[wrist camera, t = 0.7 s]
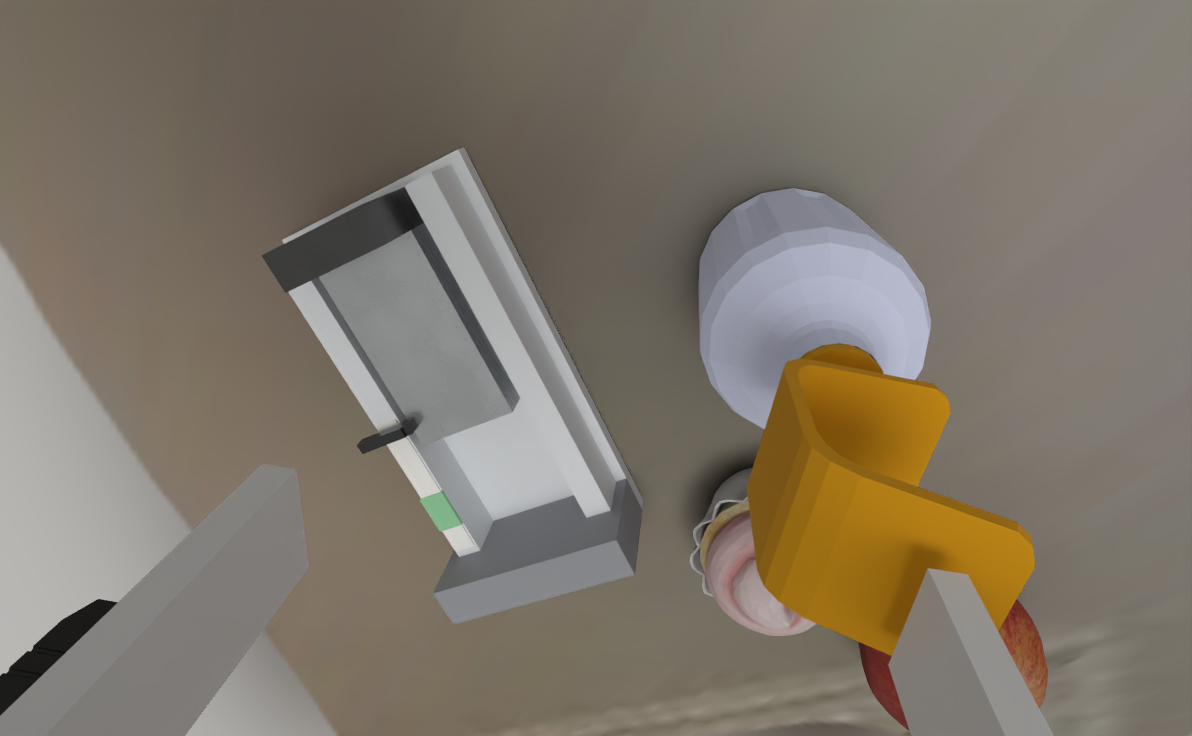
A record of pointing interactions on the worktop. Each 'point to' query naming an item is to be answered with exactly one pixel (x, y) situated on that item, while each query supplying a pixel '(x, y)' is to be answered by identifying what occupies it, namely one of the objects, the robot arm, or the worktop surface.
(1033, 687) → the fruit
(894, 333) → the soap bottle
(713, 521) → the cupcake
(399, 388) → the block with dark end
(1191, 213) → the worktop surface
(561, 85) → the worktop surface
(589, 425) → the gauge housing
